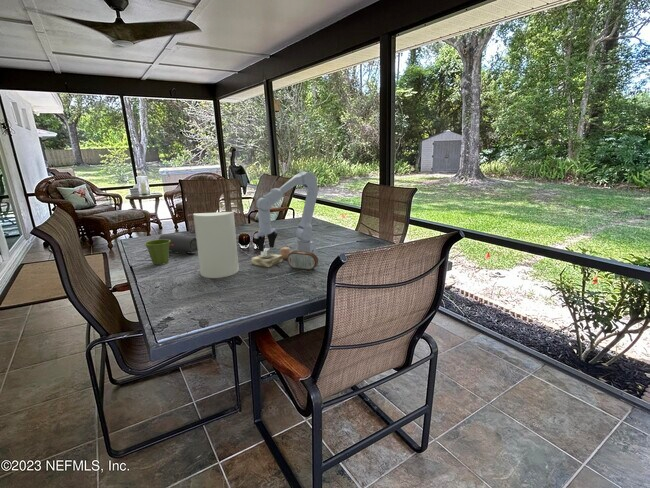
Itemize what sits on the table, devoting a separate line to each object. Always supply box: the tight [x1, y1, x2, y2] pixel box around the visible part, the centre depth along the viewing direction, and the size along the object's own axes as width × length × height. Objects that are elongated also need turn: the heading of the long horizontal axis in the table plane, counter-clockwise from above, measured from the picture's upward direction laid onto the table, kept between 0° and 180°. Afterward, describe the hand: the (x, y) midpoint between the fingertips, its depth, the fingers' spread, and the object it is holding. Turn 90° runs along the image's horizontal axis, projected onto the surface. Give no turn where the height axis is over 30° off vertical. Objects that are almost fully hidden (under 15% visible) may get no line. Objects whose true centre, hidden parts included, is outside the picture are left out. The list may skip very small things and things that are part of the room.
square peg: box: [260, 247, 273, 259], centre depth 168 cm, size 4×4×7 cm
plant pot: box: [144, 238, 170, 265], centre depth 170 cm, size 12×12×11 cm
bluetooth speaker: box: [158, 234, 198, 254], centre depth 188 cm, size 23×9×10 cm, turn 68°
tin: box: [286, 250, 319, 271], centre depth 158 cm, size 15×3×8 cm, turn 71°
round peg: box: [280, 246, 291, 260], centre depth 176 cm, size 5×5×5 cm
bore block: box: [250, 253, 284, 268], centre depth 169 cm, size 11×11×3 cm
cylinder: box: [192, 211, 240, 279], centre depth 154 cm, size 17×17×28 cm
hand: (266, 249), depth 167 cm, fingers open, 7 cm apart
